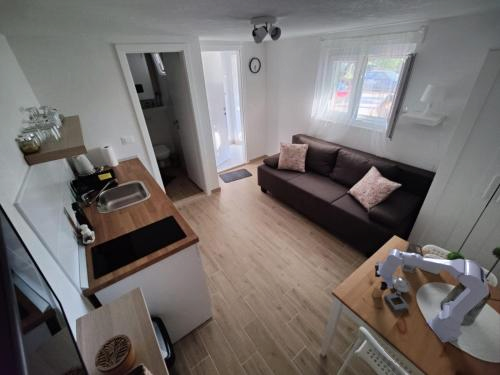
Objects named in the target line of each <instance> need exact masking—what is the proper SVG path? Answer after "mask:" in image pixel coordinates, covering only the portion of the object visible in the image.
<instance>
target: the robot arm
mask: <svg viewBox="0 0 500 375" xmlns="http://www.w3.org/2000/svg"><path fill="white" fill-rule="evenodd" d="M423 257H424V256H423ZM423 257H422V256H421V255H420V254H416V253H407V252H404V251H401V250H400V249H398V248H392V249H389V250H388V254H387V257H386V258H385V259H384V261H382V260H381V261H380V260H378V261H377V264H376V265H374V268H375V269H374V270H375V271H374V272H375V273H374V275H375V276H374V277H375V278H380V277H381V278H382V280H383V281H380V286H381V287H380V290H385V291H386V290H388V289H394V288H393V287H394V285H393V283H392V276H394V274H395V272H396V270H397V268H398V267H400V266H401V265H409V266H415V267H417V268H419V267H421V266H423V265H424V266H428V267H432V268H437V269H441V270H440V271H446V272H448V273H449V274H450V275H451V277H453V279H454V280H457V278H458V281H459V283H461V285H463V286H464V287H466V288H465V289H464V290H463V291H462V293H460V294H459V295H458V296H457V297H456V298H455V300H454V301H452V300H450V301H449V302H446V303H443V304H442V310H441V311H439V312H438V313H437V315H436V316H435V317H434V318H433V319H430V320H429V319H428V320H426V323H427V325H428V326H429V327H430V328H431V330H432V331H433V332H434V334H435V335H436V337H438V338H439V340H440V341H441V342H442V343H443V344H444V343H448V341H449V342H453V341H457V340H458V339H459V337H461V336H462V334H463V331H462V330H461V326H462V325H461V324H463V321H464V318H465V315H467V313H469V312H470V311H471V310H472V309H473V308H474V307H476V305H478V304H479V303H480V302H481V301H482V300H483V299H484V298H486V297H487V296H488V295H490V291H489V290H490V288H489V283H488V280H487V278H486V274H485V270H484V268H483V267H482V266H481V265H480V264H479V263H478V262H476V261H474V260H470V259H463V258H457V259H452V260H451V259H445V260H443V259H444V258H443V259H433V258H423ZM457 338H458V339H457ZM456 339H457V340H456Z"/></svg>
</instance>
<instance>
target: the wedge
mask: <svg viewBox="0 0 500 375" xmlns="http://www.w3.org/2000/svg"><path fill="white" fill-rule="evenodd" d="M380 287H381V285H378V286H375V287H374V288H373V290H372V292H371V295H372V297H373V299H377V298H378V299H379V298H382V297H383V294H384V293H385V291H386V290H380Z"/></svg>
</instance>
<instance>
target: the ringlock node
mask: <svg viewBox="0 0 500 375" xmlns="http://www.w3.org/2000/svg"><path fill="white" fill-rule="evenodd" d="M392 283H393V285H394V287H393V288H392V289H394V290H395V293H390V294H389V293H388V294H385V295H384V297H383V299H384V300H385V301H386V303H387V305H388V306H389V307H390V309H391V310H392V311H393V313H397V312H402V311H407V310H409V309H410V306H409V304H408V302H406V300H405V299H404V298H403V297H402V293H404V294H406V293H409V292H410V290H411V289H412V287H411V284H410V282H409V280H407V279H406V278H405V277H404V276H400V275H392ZM396 300H398V301H399V304H394V302H393V301H396Z"/></svg>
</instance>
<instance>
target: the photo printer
mask: <svg viewBox="0 0 500 375" xmlns="http://www.w3.org/2000/svg"><path fill="white" fill-rule="evenodd" d="M423 258H433V259H443V260H446V259H445V258H443V257H441V256H439V255H435V254H431V253H425V254H423ZM418 268H419V269H420V270H422V271H425V272H428V273H431V274H434V275H439V273H440V272H441V271H442V270H441V269H437V268H432V267H428V266H424V265H423V266H421V267H418Z"/></svg>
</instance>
